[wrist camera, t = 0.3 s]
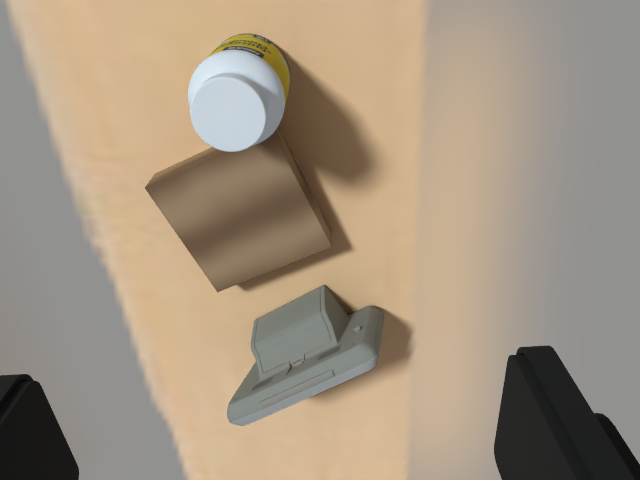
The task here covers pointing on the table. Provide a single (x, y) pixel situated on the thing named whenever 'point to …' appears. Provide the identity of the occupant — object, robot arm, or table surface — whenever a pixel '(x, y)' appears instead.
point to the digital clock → (305, 353)
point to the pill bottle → (239, 93)
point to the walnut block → (241, 210)
